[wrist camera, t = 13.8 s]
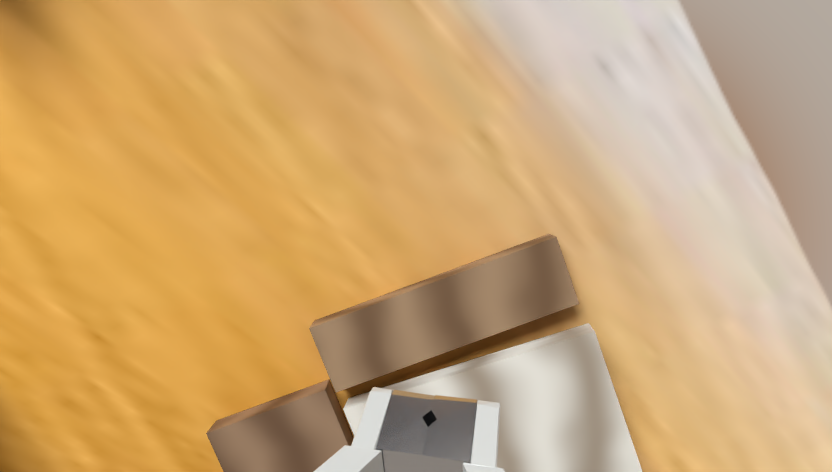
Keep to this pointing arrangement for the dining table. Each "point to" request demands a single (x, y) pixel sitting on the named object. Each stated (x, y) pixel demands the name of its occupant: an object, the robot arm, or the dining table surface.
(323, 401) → the walnut boards
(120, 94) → the dining table surface
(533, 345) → the ash plank
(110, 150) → the dining table surface
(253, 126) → the dining table surface
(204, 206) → the dining table surface
